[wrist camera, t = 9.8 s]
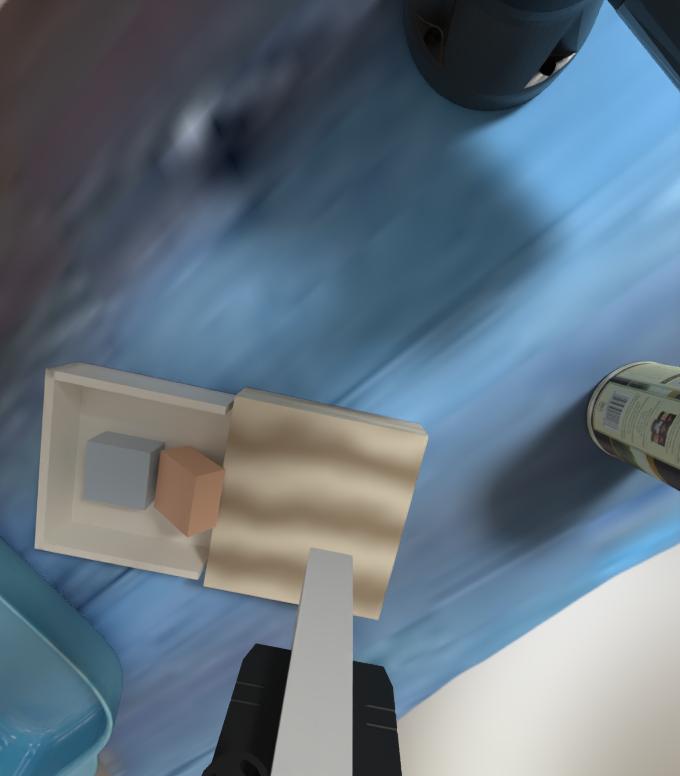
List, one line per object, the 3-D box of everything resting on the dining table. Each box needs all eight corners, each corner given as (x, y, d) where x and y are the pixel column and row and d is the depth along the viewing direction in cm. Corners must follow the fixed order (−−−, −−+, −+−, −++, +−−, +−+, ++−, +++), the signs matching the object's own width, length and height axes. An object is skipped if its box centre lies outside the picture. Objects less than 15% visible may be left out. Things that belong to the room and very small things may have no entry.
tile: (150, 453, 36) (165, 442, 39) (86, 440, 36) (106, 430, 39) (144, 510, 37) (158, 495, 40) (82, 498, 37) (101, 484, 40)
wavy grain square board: (245, 387, 38) (234, 395, 35) (420, 424, 39) (428, 436, 35) (216, 560, 42) (203, 586, 39) (375, 591, 43) (378, 619, 39)
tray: (80, 361, 38) (45, 368, 34) (239, 395, 39) (225, 406, 34) (67, 523, 42) (34, 548, 37) (213, 551, 42) (197, 580, 38)
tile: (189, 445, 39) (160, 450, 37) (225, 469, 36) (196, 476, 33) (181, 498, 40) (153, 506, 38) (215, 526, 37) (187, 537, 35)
